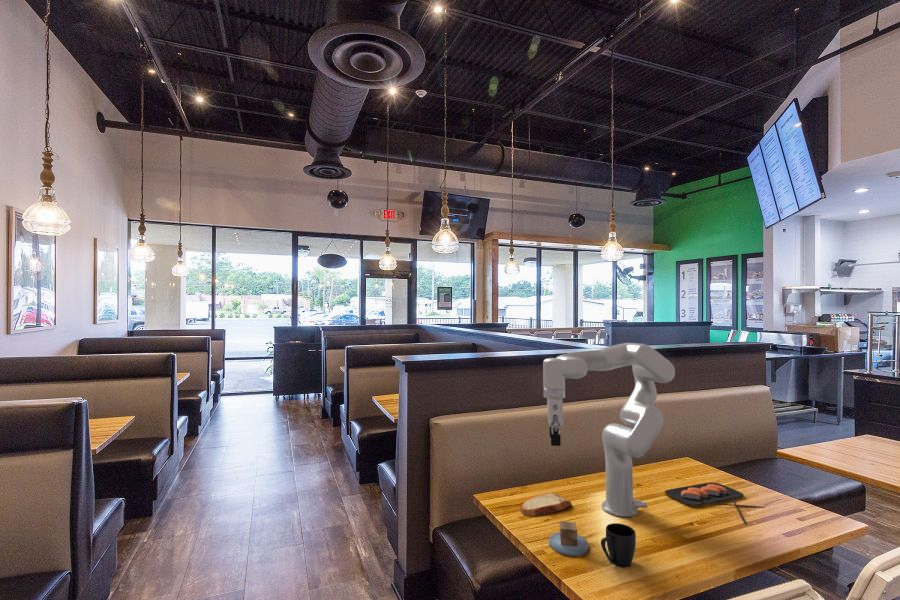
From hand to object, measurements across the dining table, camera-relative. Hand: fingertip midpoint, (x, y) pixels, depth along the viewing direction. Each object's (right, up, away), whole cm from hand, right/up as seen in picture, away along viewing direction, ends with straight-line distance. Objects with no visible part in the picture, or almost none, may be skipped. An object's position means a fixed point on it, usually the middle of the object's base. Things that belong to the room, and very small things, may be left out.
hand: (555, 441), depth 152 cm
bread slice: (-1, -29, +10) cm, 31 cm away
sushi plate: (+67, -29, +12) cm, 74 cm away
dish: (0, -28, -16) cm, 32 cm away
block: (0, -27, -16) cm, 31 cm away
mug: (+12, -28, -26) cm, 40 cm away
